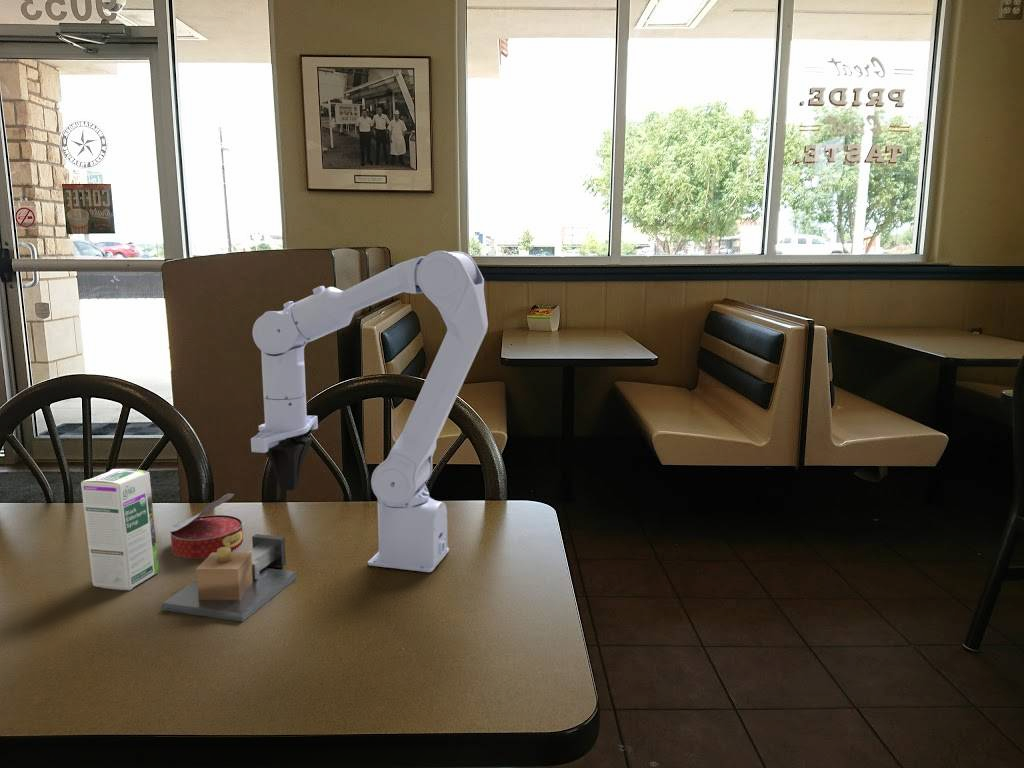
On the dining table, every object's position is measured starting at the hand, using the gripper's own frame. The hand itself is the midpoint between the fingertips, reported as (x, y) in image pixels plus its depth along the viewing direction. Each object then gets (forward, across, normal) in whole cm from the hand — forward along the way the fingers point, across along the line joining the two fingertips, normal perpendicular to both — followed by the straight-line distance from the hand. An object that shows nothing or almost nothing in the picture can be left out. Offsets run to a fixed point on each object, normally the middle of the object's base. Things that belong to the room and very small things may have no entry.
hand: (289, 488), depth 106 cm
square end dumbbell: (+9, +9, 0) cm, 13 cm away
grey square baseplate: (+9, +14, 0) cm, 17 cm away
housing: (+8, +16, 0) cm, 18 cm away
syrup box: (+10, +14, -16) cm, 24 cm away
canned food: (+10, +2, -13) cm, 16 cm away
